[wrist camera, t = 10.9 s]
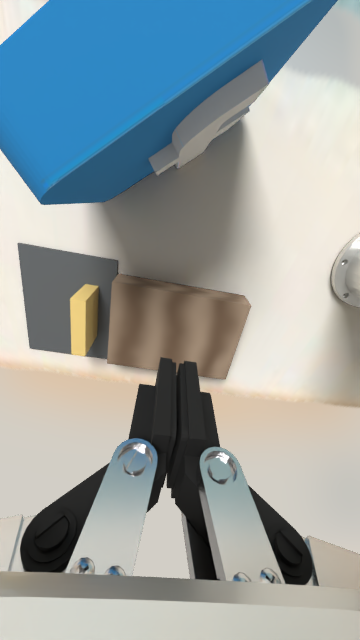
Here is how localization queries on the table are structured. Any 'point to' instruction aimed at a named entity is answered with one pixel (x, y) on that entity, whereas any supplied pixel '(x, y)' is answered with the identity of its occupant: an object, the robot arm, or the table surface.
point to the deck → (174, 325)
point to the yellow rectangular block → (84, 319)
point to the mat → (63, 295)
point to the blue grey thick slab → (135, 85)
